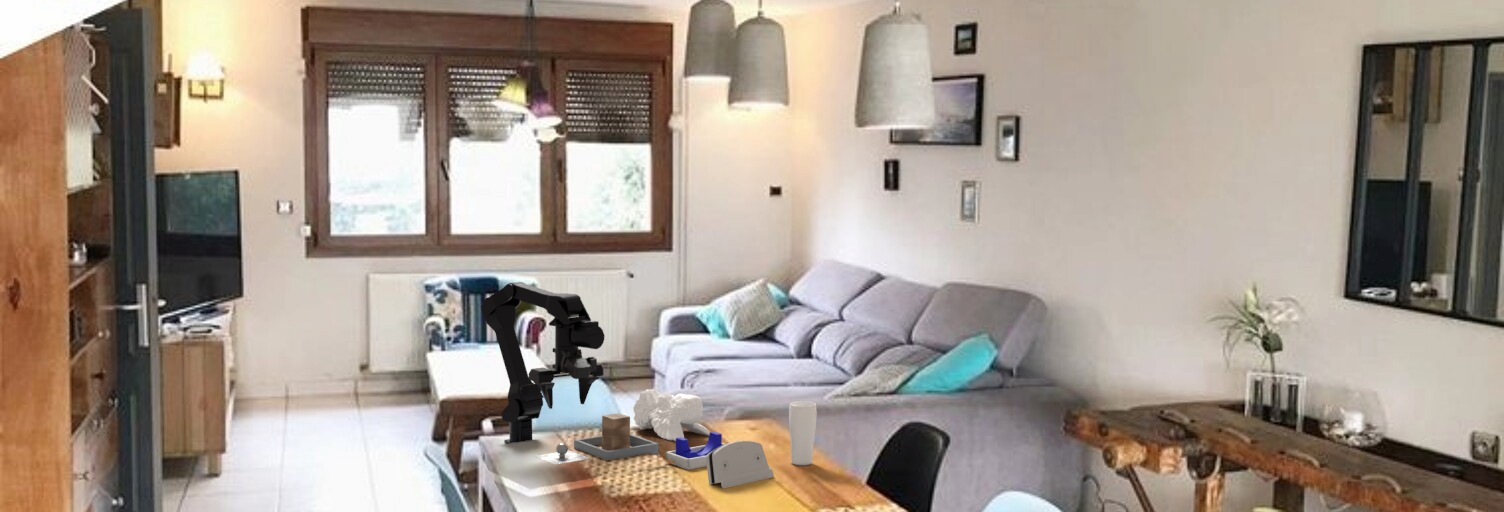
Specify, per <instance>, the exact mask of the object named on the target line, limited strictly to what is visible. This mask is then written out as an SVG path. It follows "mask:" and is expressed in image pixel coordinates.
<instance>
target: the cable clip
mask: <svg viewBox="0 0 1504 512" xmlns="http://www.w3.org/2000/svg"><path fill="white" fill-rule="evenodd" d="M722 435H723V434H722V433H719V432H717V431H712V432H711V431H710V435H708V440H707V442H706V444H704V445H705V447H704V448H703V449H701V450H700V451H698V452H694V451H691V449H690V448H691V447H690V445H689V439H687V438H685V437H684V438H682V437H678V438H676V441H675V450H676V455H679V456H682V457H685V458H688V459H689V458H695V457H701V456H706V455H707V454H709V453H710V452H711V451H713V450H714V449H716V448H718V447H720V446H721V445H722V443H723V441H722V440H723V439H722Z"/></svg>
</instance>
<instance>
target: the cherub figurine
mask: <svg viewBox="0 0 1504 512" xmlns="http://www.w3.org/2000/svg"><path fill="white" fill-rule="evenodd" d="M633 413H634V415H633V420H634V422H635V425H636V426H638V428H639V429H640V430H645V429H652V428H653V431H654V432H655V434H657V436H658V437H660V438H663V439H664V440H668V441H674V442H676V438H678V437H682V438H685V435H684V431H683V429H686V430H687V431H689V432H692V433H696V434H699V435H704V436H708V437H709V435H710V432H711V431H709V429H708V428H706V427H705V426H703V425H701V424H700V423H699V422H700V419H702V416H703V414H704V404H703V401H702V399H701V397H700V396H698V395H695V394H684V393H678V394H676V395H675V396H674V394H670V393H668V392H667V391H666V392H663V393H662V392H659V391H658V389H656V388H653V389H645V390H643V391H641V392H640V394H639V396H638V399H636V401H635V404H634V406H633ZM647 427H649V428H647Z"/></svg>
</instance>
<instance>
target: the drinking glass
mask: <svg viewBox="0 0 1504 512" xmlns="http://www.w3.org/2000/svg"><path fill="white" fill-rule="evenodd" d="M788 407H789V409H788V425H789V440H790V442H789V443H790V462H791V463H792V464H793V465H795V466H801V467H802V466H809V465H812V463H813V461H814V459H813V456H814V455H813V454H814V448H815V447H814V446H815V436H816V427H817V418H818V417H817V415H818V414H817V413H818V412H817V403H816V402H814V401H806V400H798V401H797V400H795V401H791V402H790V403H789V406H788Z"/></svg>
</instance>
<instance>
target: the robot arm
mask: <svg viewBox="0 0 1504 512" xmlns="http://www.w3.org/2000/svg"><path fill="white" fill-rule="evenodd" d="M522 302H523V303H527V304H530V305H533V306H536V307H539V308H542V309H544V310H545V311H546V313H548V314H549V315H550V316H552V317H553V319H552V320H551V321H549V323H548V325H549V326H550V327H555V328H554V329H555V330H554V331H555V333H554V335H555V336H554V337H555V338H554V339H555V341H554V342H555V344H554V345H555V346H554V347H552V353H554V354H555V355H554V358H555V359H554V360H555V363H554V364H552V369H549V368H546V367H537V368H536V367H535V368H531V369H530V370H529V372H528V371H527V367H526V363H525V359H524V356H523V354H522V350H521V347H520V343H519V340H518V336H517V333H516V329H515V325H516V324H515V323H516V319H517V311H516V309H517V308H518V307H519V306H520V305H521V303H522ZM480 308H481V311H480V312H481V313H482V316H483V319H484V320H485V322H486V325H488V326H489V328H491V330H492V331H494V333H495V336H496V340H497V343H498V346H499V350H500V354H501V358H502V360H503V363H504V366H505V371H506V374H507V375H506V376H507V378H508V381H509V389H508V392H507V401H508V403H507V405H506V406H505V408H503V410H502V411H501V413H500V415H501V419H502V421H503V422H507V423H509V438H508V439H504V440H503V441H504V443H506V444H514V443H515V444H516V443H521V442H527V441H534V439H533V420H534V419H535V420H536V419H539V418H540V415H541V411H542V409H543V406H544V401H543V400H545V403H546V405H547V407H548V409H550V410H552V409H553V403H554V400H553V399H554V398H553V393H554V392H553V388H554V386H555V382H553V381H554V380H555V378H562V377H571V378H572V379H575V380H578V382H577V383H578V394H579V395H578V397H579V402H580V405H585V403H586V400H587V397H588V394H589V392H590V389H591V387H592V386H593V385H592V384H594V382H596V381H598V380H599V379H600V377H602V376H604V374H605V373H604V372H605V369H604V367H603V365H602V364H601V363H598V359H597V358H596V357H595V356H588V357H583V355H582V354H583V352H582V349H580V348H584V349H592V350H598V349H601V347H602V346H603V344H604V342H605V336H606V335H605V333H604V330H603V328H601V326H599V324H600V323H599V321H598V320H597V321H596V320H592V319H591V317H590V314H589V313H588V311H587V309H586V307H585V305H584V303H583V301H582V298H581V296H579V295H578V294H576V293H564V292H563V293H558V292H557V293H556V292H555V293H554V292H551V291H548V290H546V289H543V288H539V287H537V286H532V285H529V284H526V283H525V282H523V281H516V282H509V283H507V284H505V286H504V287H503V288H501V289H499V290H498V291H496V292H494V293H492V294H491V295H490V296H488V297H486V298H485V299H484V300H483V301H482V304H481V306H480Z"/></svg>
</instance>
